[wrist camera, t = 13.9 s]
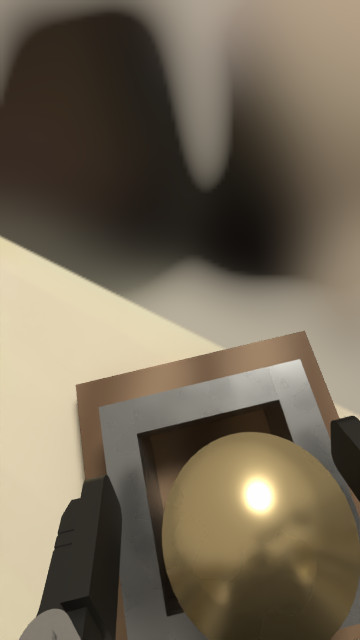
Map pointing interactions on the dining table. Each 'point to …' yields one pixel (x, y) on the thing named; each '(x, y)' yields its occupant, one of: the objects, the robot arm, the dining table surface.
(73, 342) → the dining table surface
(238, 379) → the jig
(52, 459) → the dining table surface
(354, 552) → the gold dome cylinder
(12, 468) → the dining table surface
